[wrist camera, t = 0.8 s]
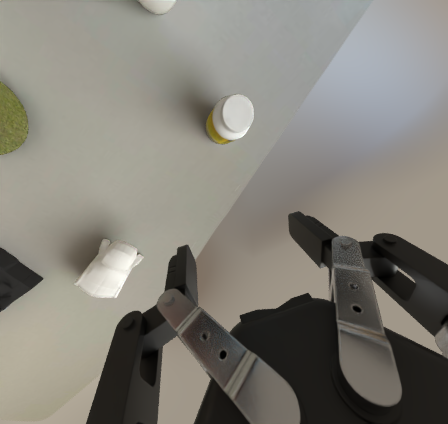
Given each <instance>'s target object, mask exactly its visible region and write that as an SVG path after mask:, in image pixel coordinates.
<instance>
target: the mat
mask: <svg viewBox="0 0 448 424" xmlns="http://www.w3.org/2000/svg"><path fill="white" fill-rule="evenodd" d="M27 130H28V119H27V116H26V111H25V110H24V108H23V105H22V104H21V103H20V101H19V100H18V98H17V97H16V95H15V94H14V93H13V92H12V91H11V90H10V89H9V88H8V87H7V86H6V85H4V84H3V83H2V82H1V81H0V155H3V154H7V153H9V152H12V151H13V150H16V149H17V148H19V147H20V146H21V145H22V143H24V141H25V139H26V138H27V134H28V131H27Z"/></svg>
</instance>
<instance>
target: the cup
mask: <svg viewBox="0 0 448 424" xmlns="http://www.w3.org/2000/svg"><path fill="white" fill-rule="evenodd" d="M138 1H139V2H140V3H141V4H142V5H143V6H144V7H145V8H146V9H147V10H148V11H150V12H152V13H154V14H157V15H163V14H166V13H168V12H169V11H170V10H171V9H172V8H173V7H174V5H175V3H176V1H177V0H138Z"/></svg>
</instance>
